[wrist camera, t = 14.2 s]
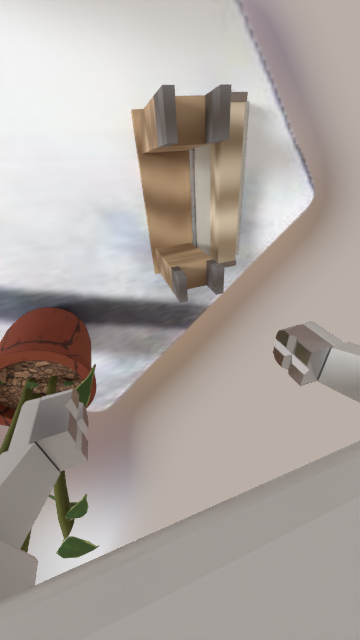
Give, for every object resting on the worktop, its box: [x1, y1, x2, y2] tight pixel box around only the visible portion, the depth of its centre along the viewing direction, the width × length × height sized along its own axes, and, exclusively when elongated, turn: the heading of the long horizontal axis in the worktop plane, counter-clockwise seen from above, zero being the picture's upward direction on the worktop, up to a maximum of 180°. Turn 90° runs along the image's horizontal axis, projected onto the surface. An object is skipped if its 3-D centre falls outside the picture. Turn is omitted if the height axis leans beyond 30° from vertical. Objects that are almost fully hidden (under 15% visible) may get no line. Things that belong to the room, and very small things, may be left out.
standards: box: [131, 85, 231, 303], centre depth 29 cm, size 21×7×13 cm, turn 4°
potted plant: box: [0, 307, 99, 558], centre depth 26 cm, size 17×16×35 cm
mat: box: [194, 101, 249, 257], centre depth 35 cm, size 21×8×1 cm, turn 4°
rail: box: [210, 92, 248, 267], centre depth 34 cm, size 22×3×3 cm, turn 4°
